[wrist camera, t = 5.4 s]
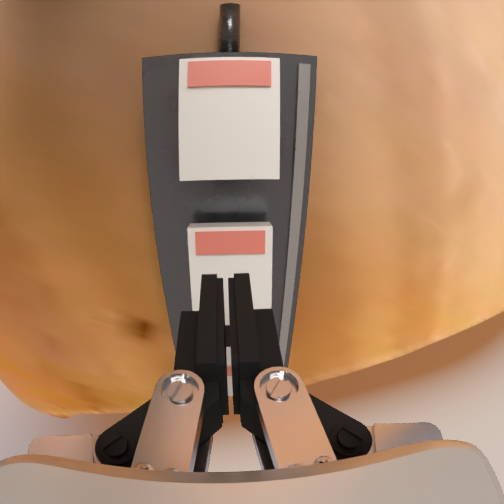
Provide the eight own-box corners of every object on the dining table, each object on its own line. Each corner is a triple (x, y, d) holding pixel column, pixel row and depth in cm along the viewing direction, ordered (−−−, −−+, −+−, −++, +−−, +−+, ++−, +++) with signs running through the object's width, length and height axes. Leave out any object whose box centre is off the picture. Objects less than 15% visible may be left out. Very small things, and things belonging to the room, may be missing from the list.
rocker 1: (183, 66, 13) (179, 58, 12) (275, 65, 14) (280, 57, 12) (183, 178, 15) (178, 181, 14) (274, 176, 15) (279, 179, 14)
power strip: (158, 12, 15) (141, -3, 11) (301, 11, 16) (319, -4, 12) (185, 344, 29) (181, 380, 25) (280, 342, 30) (286, 377, 26)
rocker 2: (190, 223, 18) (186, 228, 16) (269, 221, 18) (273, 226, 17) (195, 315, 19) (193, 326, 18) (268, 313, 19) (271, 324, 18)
